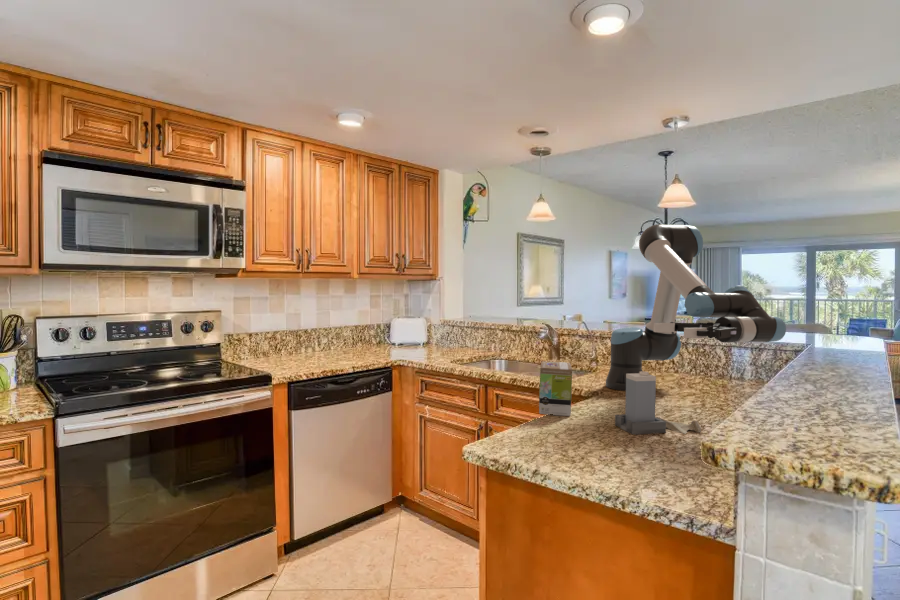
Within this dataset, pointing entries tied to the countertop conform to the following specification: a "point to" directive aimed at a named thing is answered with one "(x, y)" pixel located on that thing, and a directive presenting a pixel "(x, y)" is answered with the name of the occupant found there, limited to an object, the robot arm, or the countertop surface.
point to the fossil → (682, 426)
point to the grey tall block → (640, 397)
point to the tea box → (555, 388)
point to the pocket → (640, 425)
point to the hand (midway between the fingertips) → (668, 330)
